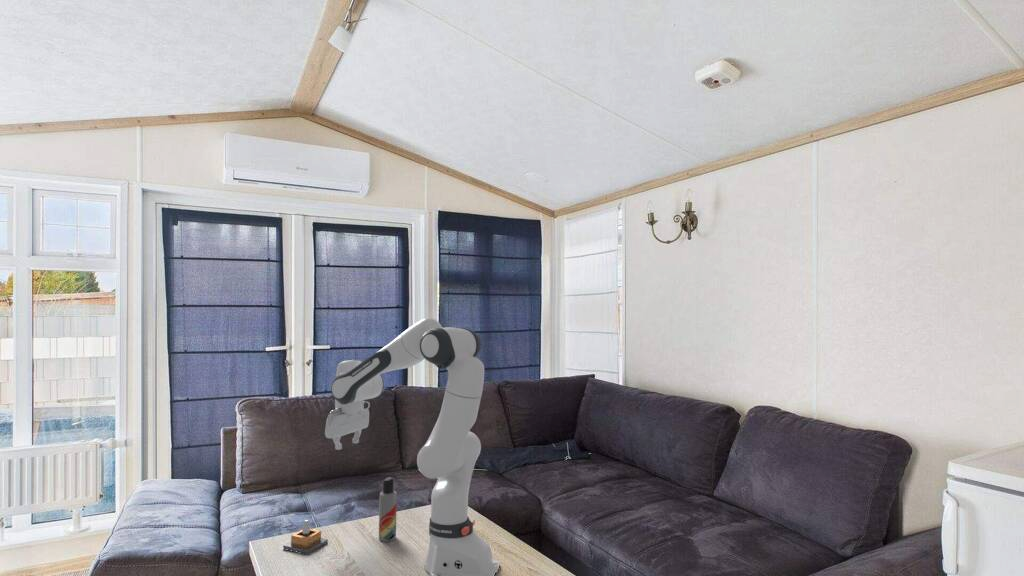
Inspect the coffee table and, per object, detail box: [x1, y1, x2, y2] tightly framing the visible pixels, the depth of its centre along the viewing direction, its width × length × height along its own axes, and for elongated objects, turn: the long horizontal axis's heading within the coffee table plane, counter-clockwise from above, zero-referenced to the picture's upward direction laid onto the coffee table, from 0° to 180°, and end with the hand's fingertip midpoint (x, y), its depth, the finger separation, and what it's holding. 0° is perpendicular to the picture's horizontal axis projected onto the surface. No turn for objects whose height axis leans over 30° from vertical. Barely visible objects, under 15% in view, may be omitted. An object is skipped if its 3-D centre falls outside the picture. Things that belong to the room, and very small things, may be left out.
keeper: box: [282, 519, 328, 555], centre depth 176 cm, size 10×9×8 cm
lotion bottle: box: [378, 477, 398, 542], centre depth 183 cm, size 6×6×20 cm
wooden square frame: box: [290, 528, 322, 548], centre depth 176 cm, size 6×6×3 cm
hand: (347, 446), depth 190 cm, fingers open, 8 cm apart
